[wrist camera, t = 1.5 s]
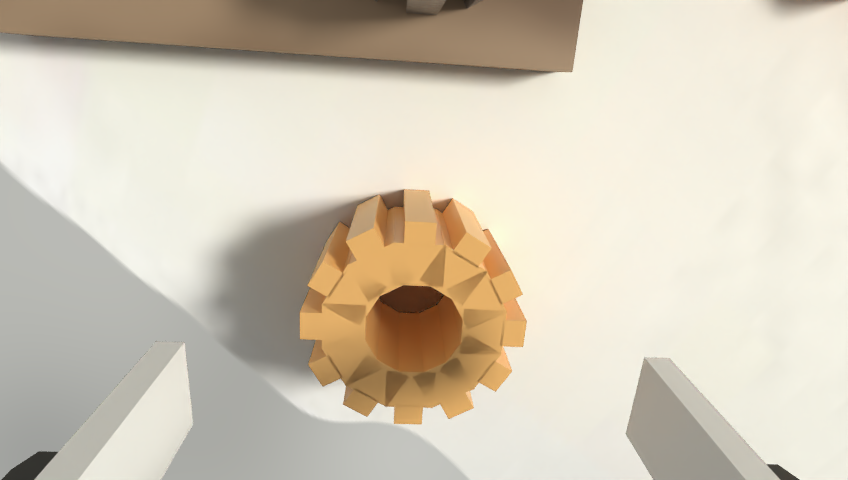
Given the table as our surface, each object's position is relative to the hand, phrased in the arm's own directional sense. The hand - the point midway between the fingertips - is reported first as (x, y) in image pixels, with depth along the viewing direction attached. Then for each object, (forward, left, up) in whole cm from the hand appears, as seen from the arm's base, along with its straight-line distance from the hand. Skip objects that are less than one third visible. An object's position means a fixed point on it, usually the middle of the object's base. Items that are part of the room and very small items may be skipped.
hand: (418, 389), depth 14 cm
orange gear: (0, 0, -9) cm, 9 cm away
